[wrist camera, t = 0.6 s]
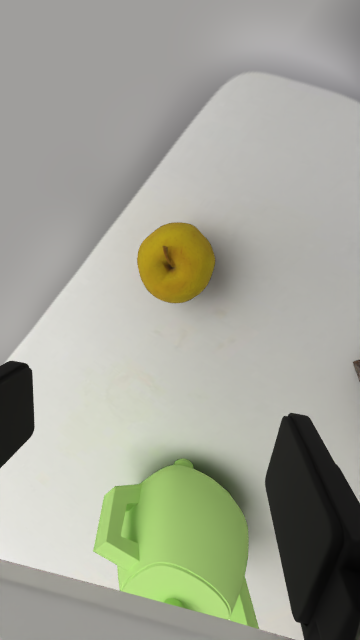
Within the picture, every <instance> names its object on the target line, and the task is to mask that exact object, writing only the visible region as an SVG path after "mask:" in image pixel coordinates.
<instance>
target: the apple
mask: <svg viewBox="0 0 360 640" xmlns="http://www.w3.org/2000/svg"><path fill="white" fill-rule="evenodd" d="M137 263H138V269H139V273H140V277H141V280H142V281H143V283H144V285H145V287H146V289H147V290H148V291H149V292H150V293H151V294H152V295H153V296H155V297H156V298H158V299H160V300H162V301H165V302H170V303H183V302H186V301H188V300H190V299H192V298H194V297H195V296H197V295H198V294H200V293H201V292H202V291H203V290H204V289H205V287H206V286H207V285H208V283H209V281H210V278H211V275H212V272H213V269H214V266H215V256H214V253H213V250H212V247H211V245H210V243H209V241H208V240H207V239H206V238H205V237H204V236H203V234H202V233H201V232H200V231H199V230H198V229H197V228H196V227H195V226H193V225H191V224H187V223H169V224H166V225H163V226H161V227H159V228H158V229H156V230H155V231H154V232H153V233H152V234H150V235H149V236H148V237H147V238H146V239H145V240H144V241H143V242H142V244H141V246H140V248H139V251H138V258H137Z"/></svg>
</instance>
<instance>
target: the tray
mask: <svg viewBox="0 0 360 640" xmlns="http://www.w3.org/2000/svg"><path fill="white" fill-rule="evenodd" d="M353 364H354V366H355V369H356V372H357V375H358V378H359V381H360V360H357V361H354V362H353Z"/></svg>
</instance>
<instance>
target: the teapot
mask: <svg viewBox="0 0 360 640" xmlns="http://www.w3.org/2000/svg"><path fill="white" fill-rule="evenodd" d="M248 542H249V537H248V526H247V523H246V520H245V517H244V515H243V513H242V511H241V510H240V508H239V506H238V505H237V504H236V502H235V501H234V500H233V499H232V497H231V495H230V493H229V492H228V491H227V490H225V489H224V488H223V487H222V486H221V485H219V484H218V483H217V482H216V481H215V480H213V479H212V478H210V477H209V476H207V475H205V474H203V473H201V472H199V471H197V470H195V469H194V467H193V464H192V463H191V462H190V461H189V460H187V459H178V460H177V461H175V463H174V465H171V466H167V467H164V468H163V469H161V470H159V471H157V472H155V473H154V474H152V475H151V476H150V477H148V478H147V479H145V480H144V481H143V482H142V483H141V484H137V485H125V486H115V487H114V488H113V489H111V490H110V491H109V492H108V493H107V494H106V495H104V500H103V505H102V510H101V515H100V520H99V525H98V530H97V535H96V540H95V545H94V550H93V551H94V552H95V553H97V554H99V555H101V556H102V557H104V558H106V559H108V560H109V561H111V562H113V563H115V564H116V565H117V568H118V581H119V588H120V591H122V592H126V593H130V594H134V595H137V596H141V597H145V598H148V599H152V600H156V601H159V602H163V603H167V604H171V605H174V606H178V607H182V608H185V609H189V610H193V611H197V612H200V613H204V614H208V615H211V616H215V617H219V618H222V619H226V620H229V619H230V621H233V622H236V623H240V624H243V625H246V626H250V627H253V628H257V629H259V627H258V623H257V620H256V616H255V612H254V609H253V605H252V601H251V598H250V594H249V590H248V587H247V583H246V579H245V571H246V566H247V560H248Z"/></svg>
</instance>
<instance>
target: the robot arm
mask: <svg viewBox="0 0 360 640" xmlns="http://www.w3.org/2000/svg"><path fill="white" fill-rule="evenodd" d="M33 431H34V404H33V380H32V370H31V369H30V368H29V366H28V364H26V363H21V362H15V361H9V362H7V363H5V364H3V365H1V366H0V468H1V467H2V466H3V465H4V464H5V463H6V462H7V461H8V460H9V459H10V458H11V457H12V456H13V455H14V454H15V453H16V452H17V450H18V449H19V448H20V447H21V446H22V445H23V444H24V443H25V442H26V441H27V440H28V439H29V438H30V437H31V436H32V434H33ZM265 486H266V492H267V497H268V501H269V506H270V511H271V516H272V520H273V525H274V530H275V534H276V539H277V544H278V549H279V553H280V558H281V563H282V567H283V572H284V577H285V582H286V586H287V591H288V596H289V601H290V605H291V610H292V614H293V617H294V619H295V621H296V622H300V623H301V627H302V631H303V636H304V640H360V503H359V501H358V500H357V498H356V496H355V494H354V493H353V491H352V489H351V487H350V486H349V484H348V482H347V480H346V479H345V477H344V475H343V473H342V471H341V470H340V468H339V467H338V466H337V464H335V462H334V460H333V459H332V457H331V455H330V453H329V452H328V450H327V448H326V446H325V444H324V443H323V441H322V439H321V437H320V435H319V434H318V432H317V430H316V428H315V426H314V425H313V423H312V421H311V419H310V418H309V417H308V416H305V415H300V414H295V413H290V414H289V415H288V417H287V416H284V417H283V418H282V421H281V425H280V428H279V432H278V435H277V439H276V442H275V446H274V449H273V453H272V456H271V460H270V463H269V467H268V470H267V474H266V479H265ZM0 640H294V639H291V638H287V637H284V636H281V635H277V634H274V633H270V632H267V631H264V630H260V629H257V628H253V627H250V626H246V625H243V624H240V623H236V622H233V621H229V620H226V619H222V618H219V617H215V616H211V615H208V614H204V613H200V612H197V611H193V610H189V609H185V608H182V607H178V606H174V605H171V604H167V603H163V602H159V601H156V600H152V599H148V598H145V597H141V596H137V595H134V594H130V593H126V592H122V591H119V590H115V589H111V588H107V587H104V586H100V585H96V584H92V583H89V582H85V581H81V580H77V579H73V578H70V577H66V576H62V575H58V574H54V573H51V572H47V571H43V570H39V569H35V568H31V567H28V566H24V565H20V564H16V563H12V562H9V561H5V560H1V559H0Z"/></svg>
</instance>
